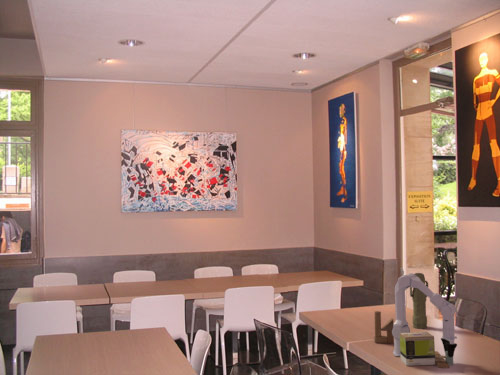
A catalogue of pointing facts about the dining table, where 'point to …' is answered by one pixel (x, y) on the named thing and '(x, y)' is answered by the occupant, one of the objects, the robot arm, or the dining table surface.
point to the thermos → (419, 305)
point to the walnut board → (440, 361)
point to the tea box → (417, 348)
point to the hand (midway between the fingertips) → (448, 354)
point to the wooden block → (386, 327)
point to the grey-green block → (447, 358)
